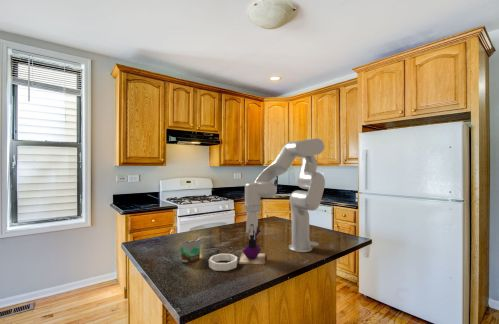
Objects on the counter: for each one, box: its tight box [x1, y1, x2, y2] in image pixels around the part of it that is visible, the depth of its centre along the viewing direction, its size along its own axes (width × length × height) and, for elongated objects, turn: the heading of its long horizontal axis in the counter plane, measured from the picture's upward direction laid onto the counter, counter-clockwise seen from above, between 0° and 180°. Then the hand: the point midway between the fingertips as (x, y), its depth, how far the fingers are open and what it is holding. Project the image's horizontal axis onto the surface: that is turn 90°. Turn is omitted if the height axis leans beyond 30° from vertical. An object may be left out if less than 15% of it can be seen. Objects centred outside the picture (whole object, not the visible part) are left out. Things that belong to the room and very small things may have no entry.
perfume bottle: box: [242, 225, 262, 259], centre depth 124 cm, size 8×8×18 cm
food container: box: [179, 236, 203, 265], centre depth 122 cm, size 12×6×10 cm, turn 148°
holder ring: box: [208, 253, 238, 272], centre depth 117 cm, size 12×12×3 cm
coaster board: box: [238, 252, 266, 265], centre depth 124 cm, size 12×12×1 cm
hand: (252, 245), depth 124 cm, fingers open, 5 cm apart
